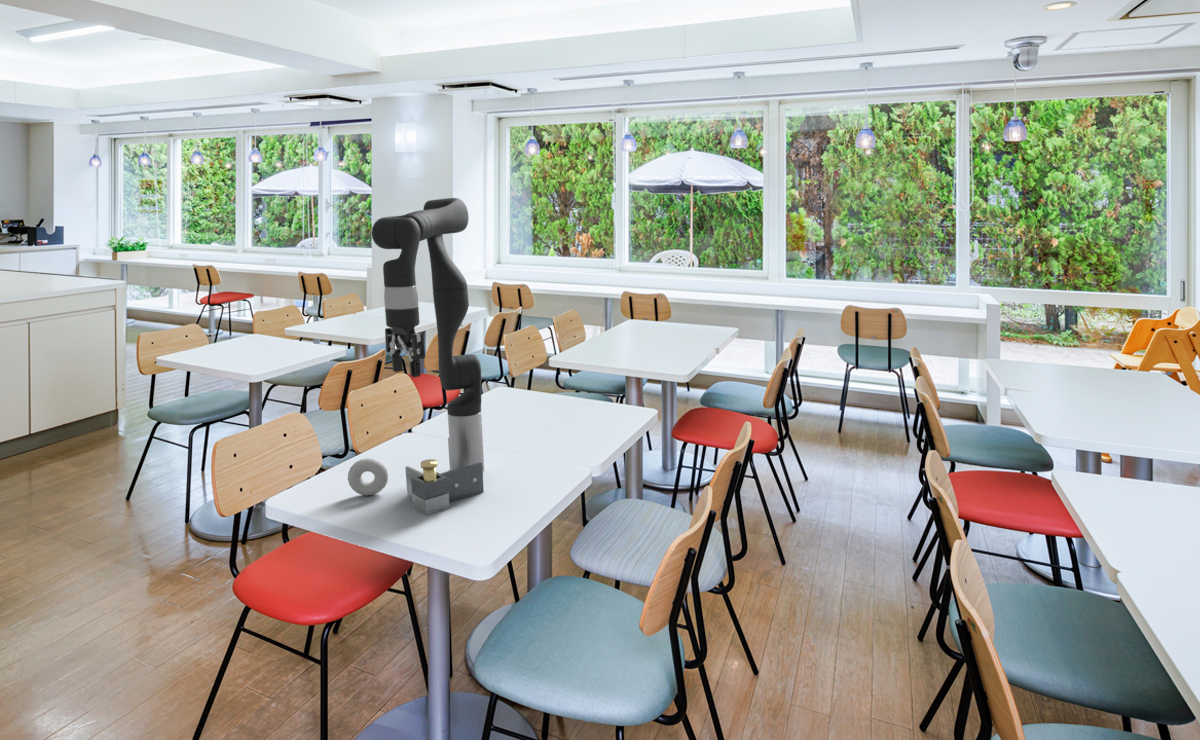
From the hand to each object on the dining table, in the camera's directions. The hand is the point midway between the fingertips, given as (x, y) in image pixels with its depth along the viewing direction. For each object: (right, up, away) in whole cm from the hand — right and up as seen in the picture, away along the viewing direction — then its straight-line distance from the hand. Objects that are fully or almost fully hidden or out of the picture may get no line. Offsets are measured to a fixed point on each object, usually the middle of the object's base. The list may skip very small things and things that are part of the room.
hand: (406, 374), depth 170 cm
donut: (-14, -32, +17) cm, 38 cm away
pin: (+4, -33, +8) cm, 34 cm away
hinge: (+6, -32, +15) cm, 35 cm away
